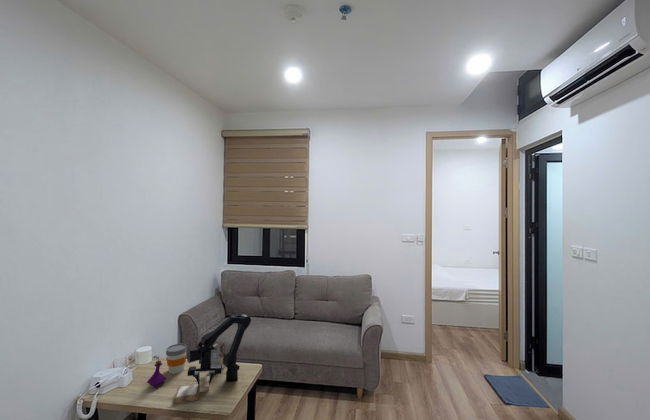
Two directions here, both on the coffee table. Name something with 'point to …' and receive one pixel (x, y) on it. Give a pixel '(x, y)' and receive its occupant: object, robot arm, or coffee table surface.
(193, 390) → the base slab
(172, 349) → the reusable coffee cup
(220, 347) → the coffee box
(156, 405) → the coffee table surface
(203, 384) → the oak block
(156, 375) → the perfume bottle
